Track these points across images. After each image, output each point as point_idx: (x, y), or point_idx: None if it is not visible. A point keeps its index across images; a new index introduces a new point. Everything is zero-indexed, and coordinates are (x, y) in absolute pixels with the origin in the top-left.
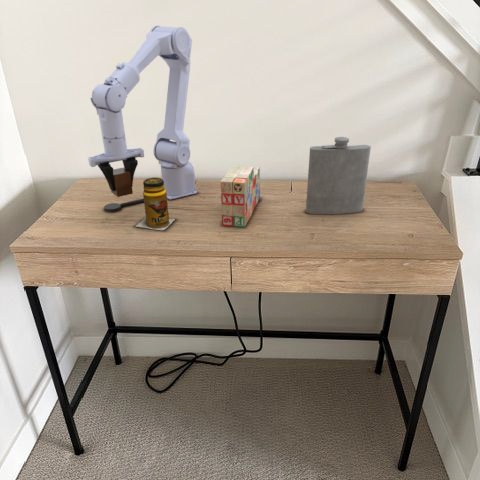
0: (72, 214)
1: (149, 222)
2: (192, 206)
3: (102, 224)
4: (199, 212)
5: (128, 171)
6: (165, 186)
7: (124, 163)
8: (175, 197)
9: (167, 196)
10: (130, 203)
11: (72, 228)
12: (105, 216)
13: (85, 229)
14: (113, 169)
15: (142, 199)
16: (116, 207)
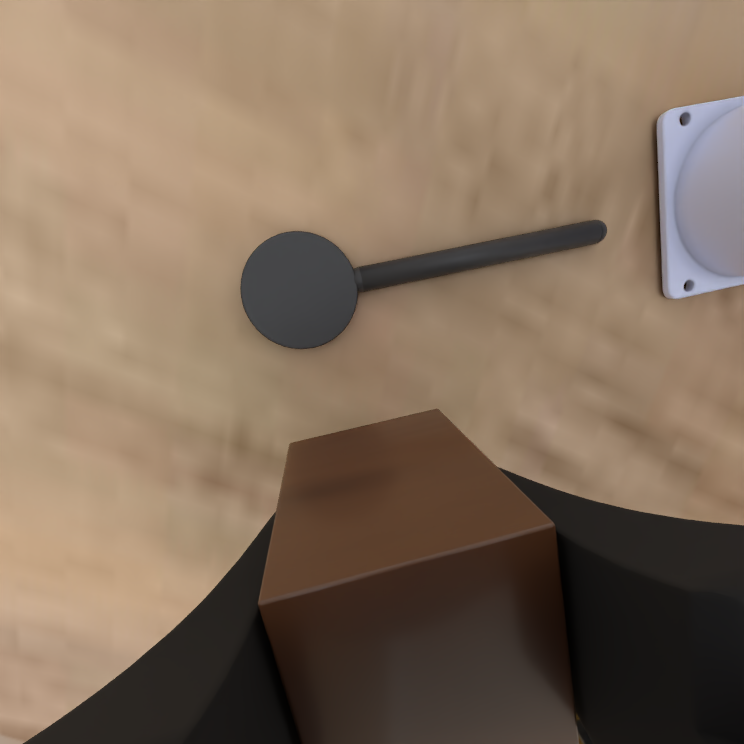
0: (3, 269)
1: None
2: (721, 434)
3: (206, 505)
4: (713, 520)
5: (568, 732)
6: (739, 216)
7: (637, 647)
8: (706, 292)
9: (673, 256)
10: (428, 276)
11: (13, 504)
12: (237, 395)
13: (98, 541)
14: (369, 576)
15: (518, 254)
16: (323, 331)
